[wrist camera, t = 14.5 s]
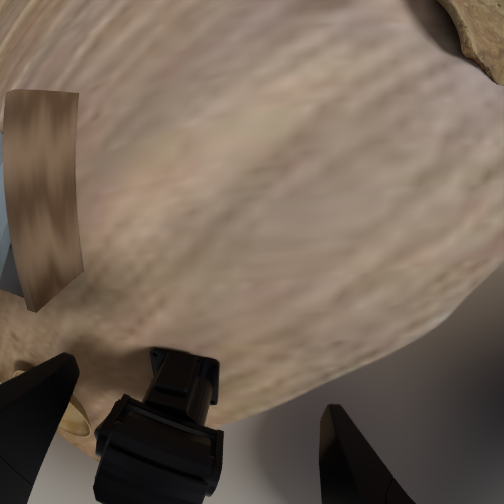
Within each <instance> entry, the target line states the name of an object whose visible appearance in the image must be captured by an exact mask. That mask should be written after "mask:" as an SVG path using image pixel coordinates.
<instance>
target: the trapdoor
mask: <svg viewBox="0 0 504 504" xmlns="http://www.w3.org/2000/svg"><path fill="white" fill-rule="evenodd" d="M10 243H11V239H10V233H9V226H8V219H7V211H6V202H5V192H4V177H3V163H2V165H1V167H0V289H2V290H5V291H8V292H10V293H13V294H16V295H18V296H21V297H24V296H23V292H22V289H21V285H20V281H19V277H18V273H17V269H16V264H15V260H14V255H13V250H12V249H11V248H9V246H10Z"/></svg>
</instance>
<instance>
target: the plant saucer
mask: <svg viewBox="0 0 504 504" xmlns="http://www.w3.org/2000/svg"><path fill="white" fill-rule="evenodd" d="M26 371H28V370H18V371H15V372H14V374H13V378H14V377H16V376H18V375H20V374H22V373H24V372H26ZM58 429H60V430H62V431H64V432H66V433H68V434H70V435H73V436H76V437H81V438H87V437H89V436H90V435H91V426H90V423H89V420H88V417H87V415H86V412H85V410H84V408H83V407H82V405H81V404H80V403H79V401H78V400H77V399H76V398H75V397H74V396H73V395H72V396H71V399H70V402H69V404H68V407H67V409H66V411H65V413H64V415H63V418H62V420H61V422H60V424H59V426H58Z"/></svg>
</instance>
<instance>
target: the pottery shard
mask: <svg viewBox="0 0 504 504" xmlns="http://www.w3.org/2000/svg"><path fill="white" fill-rule="evenodd" d="M437 1H438V2H439V3H440V4H441V5H442V6H443V7H444V8H445V9H446V11H447V12H448V13H449V15H450V17H451V18H452V20H453V22H454V24H455V26H456V29H457V32H458V34H459V37H460V43H461V50H462V53H463V54H464V56H465V57H467V58H471V59H473V60H474V61H475V62H477V63H478V64H479V65H480V66H481V68H482V69H483V70H484V71H486V73H487V75H488V76H489V77H491V78H492V79H493V81H494V82H495V83H497V84H499V85H504V0H437Z"/></svg>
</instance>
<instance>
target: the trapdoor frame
mask: <svg viewBox="0 0 504 504" xmlns="http://www.w3.org/2000/svg"><path fill="white" fill-rule="evenodd" d="M78 97H79V93H71V92H59V91H44V90H18V89H15V90H12V91H9V92H6V97H5V108H4V122H3V177H4V192H5V202H6V211H7V219H8V226H9V233H10V239H11V244H12V250H13V255H14V260H15V264H16V269H17V273H18V277H19V281H20V285H21V289H22V292H23V296H24V299H25V303H26V306H27V309H28V310H30V311H32V312H35V313H37V312H38V311H39V310H40V309H41V308H42V307H43V306H44V305H45V304H46V303H47V302H48V301H50V300H51V299H52V298H53V297H54V296H55V295H56V294H57V293H59V292H60V291H61V290H62V289H63V288H64V287H65V286H67V285H68V284H69V283H70V282H71V281H72V280H74V279H75V278H76V277H77V276H78V275H79V274H81V273H82V272H83V271H84V269H83V263H82V255H81V248H80V239H79V229H78V218H77V203H76V180H75V145H76V122H77V108H78Z"/></svg>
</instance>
